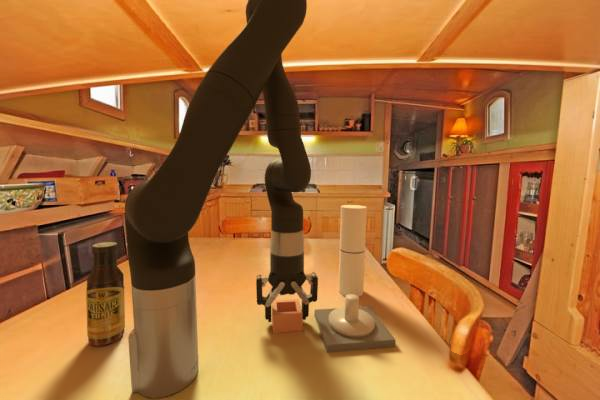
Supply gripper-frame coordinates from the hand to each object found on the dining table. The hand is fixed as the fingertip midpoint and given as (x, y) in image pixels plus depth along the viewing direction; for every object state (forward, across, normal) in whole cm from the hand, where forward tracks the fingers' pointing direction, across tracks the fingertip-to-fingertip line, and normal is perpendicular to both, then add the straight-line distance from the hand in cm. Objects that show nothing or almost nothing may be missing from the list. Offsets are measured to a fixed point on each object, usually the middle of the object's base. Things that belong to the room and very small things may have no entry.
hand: (287, 319), depth 60 cm
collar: (+1, 0, 0) cm, 1 cm away
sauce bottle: (+1, -37, -1) cm, 37 cm away
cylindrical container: (+1, +20, +14) cm, 24 cm away
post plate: (+1, +14, -4) cm, 15 cm away
